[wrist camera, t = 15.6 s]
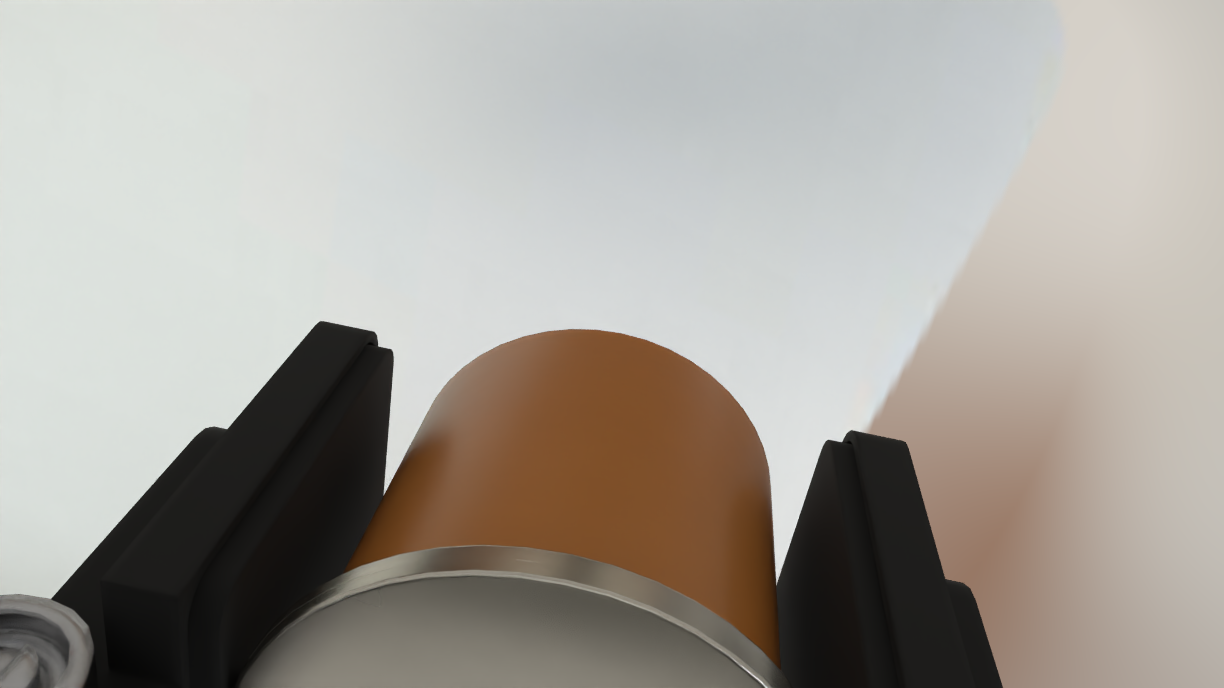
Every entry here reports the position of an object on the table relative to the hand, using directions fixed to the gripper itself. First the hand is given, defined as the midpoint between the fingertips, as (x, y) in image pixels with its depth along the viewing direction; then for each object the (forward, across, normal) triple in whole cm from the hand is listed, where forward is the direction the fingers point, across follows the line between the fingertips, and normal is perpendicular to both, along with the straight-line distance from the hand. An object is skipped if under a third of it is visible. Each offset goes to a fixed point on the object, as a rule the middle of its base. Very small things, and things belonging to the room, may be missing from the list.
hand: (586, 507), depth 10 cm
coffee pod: (0, 0, 0) cm, 0 cm away
